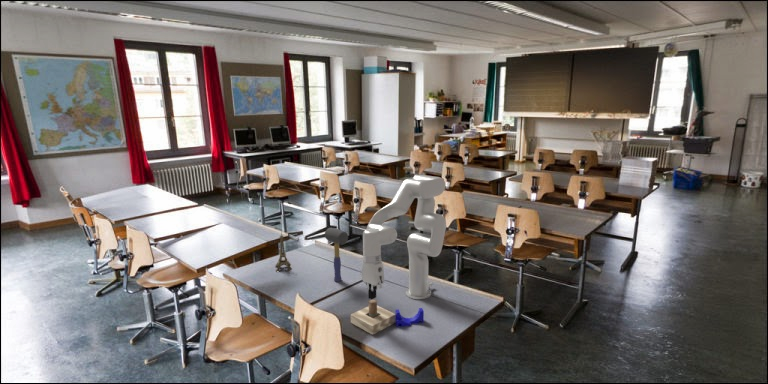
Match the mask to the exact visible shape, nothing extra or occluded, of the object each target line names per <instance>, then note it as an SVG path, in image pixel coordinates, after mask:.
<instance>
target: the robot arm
mask: <svg viewBox="0 0 768 384" xmlns="http://www.w3.org/2000/svg"><path fill="white" fill-rule="evenodd" d="M445 189H446V182H445V179H444V178H442V177H440V176H432V175H425V174H416V175H414V176H413V177H412V178H406V179H404V180H403V181H402V182H401V184H400V186H399V187H398V189H397V191H396V192H395V194H394V196H393V198H392V200H391V201H390V203H388V204H386V205H385V206H383V207H382V208H380V209H379V210H378V211H376V212H375V213H374V214H373V216H372V217H371V219H370V220H369V223H368V224H367V226H366V229H365V230H363V231H362V252H363V253H362V256H363V259H362V263H361V280H362V282H363V283H364V284H365V285H366V288H367V290H368V291H367V292H368V295H367V296H368V300H369V299H370V300H375V299H377V290H378V289H379V290H380V289H382V288H383V286H382V284H384V283H385V271H384V264H383V262H382V254H381V253H382V248H381V246H384V245H390V244H393V243H394V242H395V241H396V240H397V238H398V232H397V230H396V229H395V228H394V227H392V226H388V225H385V224H384V223H385V222H387V221H388V220H390V219H392V218H395V217H399V216H403V215H405V214H406V213H408V211H409V209H410V207H411V205H412V203H413V202H414V200H415V199H417V205H416V211H415V216H414V221H413V222H414V224H413V225H414V228H415V229H417V230H418V231H422V232H426V233H430V234H429V235H428V234H425V233H421V232H413V233H411V234H409V236H408V237H407V240H406V246H407V251H408V274H409V275H408V288H407V289H406V291H405V295H406V297H408V298H410V299H413V300H425V299H429V298H430V297H431V296H432V291H431V290H430V288H431V287H434V282H433V281H432V282H429V259H428V257H433V258H434V257H438V256H439V255H440V254H441V252H442V249H443V245H444V239H445V234H446V230H447V221H446V218H445V217H444V216H443V215H442V214H440V213H435V208H436V200H435V197H438V196H441V194H443V193H444V191H445Z"/></svg>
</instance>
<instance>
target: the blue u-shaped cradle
mask: <svg viewBox="0 0 768 384" xmlns="http://www.w3.org/2000/svg"><path fill="white" fill-rule="evenodd" d="M394 312H395V313H394V314H396V323H395V325H396V327H397V328H399V327H400V328H401V327H410V326H411V325H414V324H420V323H422V324H424V323H425V322H424V316H425V315H424V309H423V307H419V308H418V312H417V313H416V315H414V316H412V317H404V316H402V315H401V313H400V309H395V311H394ZM420 321H421V322H420Z"/></svg>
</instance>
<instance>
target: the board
mask: <svg viewBox="0 0 768 384" xmlns="http://www.w3.org/2000/svg"><path fill="white" fill-rule="evenodd" d="M350 323H351V324H352V325H354V326H356V327H357V328H359V329H361V330H363V331H365V332H367V333H369V334H370V335H371V336H374V335H376V334H377V333H379V332H381V331H383V330H384V329H386V328H388V327H391V326H392V325H394V324H396V314H395V313H394V312H392V311H390V310H387V309H386V308H383V307H381V306H379V305H377V317H375V318H371V317H369V305H368V306H365V307H363V308H362V309H359V310H357V311H355V312H353V313H351V314H350Z"/></svg>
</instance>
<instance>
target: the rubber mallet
mask: <svg viewBox="0 0 768 384" xmlns="http://www.w3.org/2000/svg"><path fill="white" fill-rule="evenodd" d="M324 238H325V239H326V240H327V241H328V242H329V241H330V242H331V243H334V248H333V249H334V258H333V269H334V277H333V281H334V282H335V283H340V282H341V281H342V276H341V275H342V273H341V270H342V269H341V266H342V264H341V263H342V262H341V257H340V256H341V255H340V245H341V246H342V245H346V243H347V242H348V239H349V235H348V233H347V232H346V231H344V230H342V229H339V228H335V227H328V228H327V229H326V230H325V231H324Z"/></svg>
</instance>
